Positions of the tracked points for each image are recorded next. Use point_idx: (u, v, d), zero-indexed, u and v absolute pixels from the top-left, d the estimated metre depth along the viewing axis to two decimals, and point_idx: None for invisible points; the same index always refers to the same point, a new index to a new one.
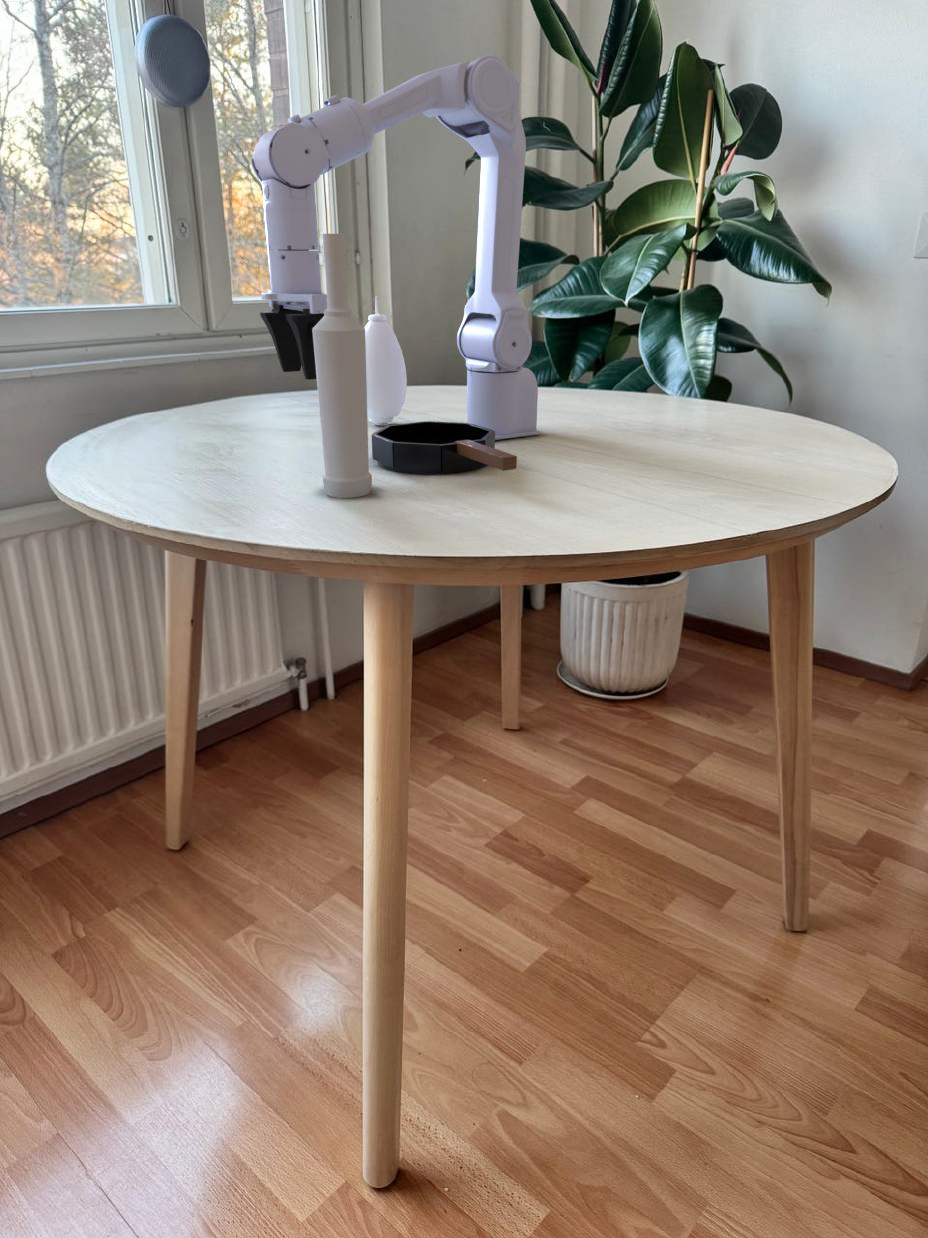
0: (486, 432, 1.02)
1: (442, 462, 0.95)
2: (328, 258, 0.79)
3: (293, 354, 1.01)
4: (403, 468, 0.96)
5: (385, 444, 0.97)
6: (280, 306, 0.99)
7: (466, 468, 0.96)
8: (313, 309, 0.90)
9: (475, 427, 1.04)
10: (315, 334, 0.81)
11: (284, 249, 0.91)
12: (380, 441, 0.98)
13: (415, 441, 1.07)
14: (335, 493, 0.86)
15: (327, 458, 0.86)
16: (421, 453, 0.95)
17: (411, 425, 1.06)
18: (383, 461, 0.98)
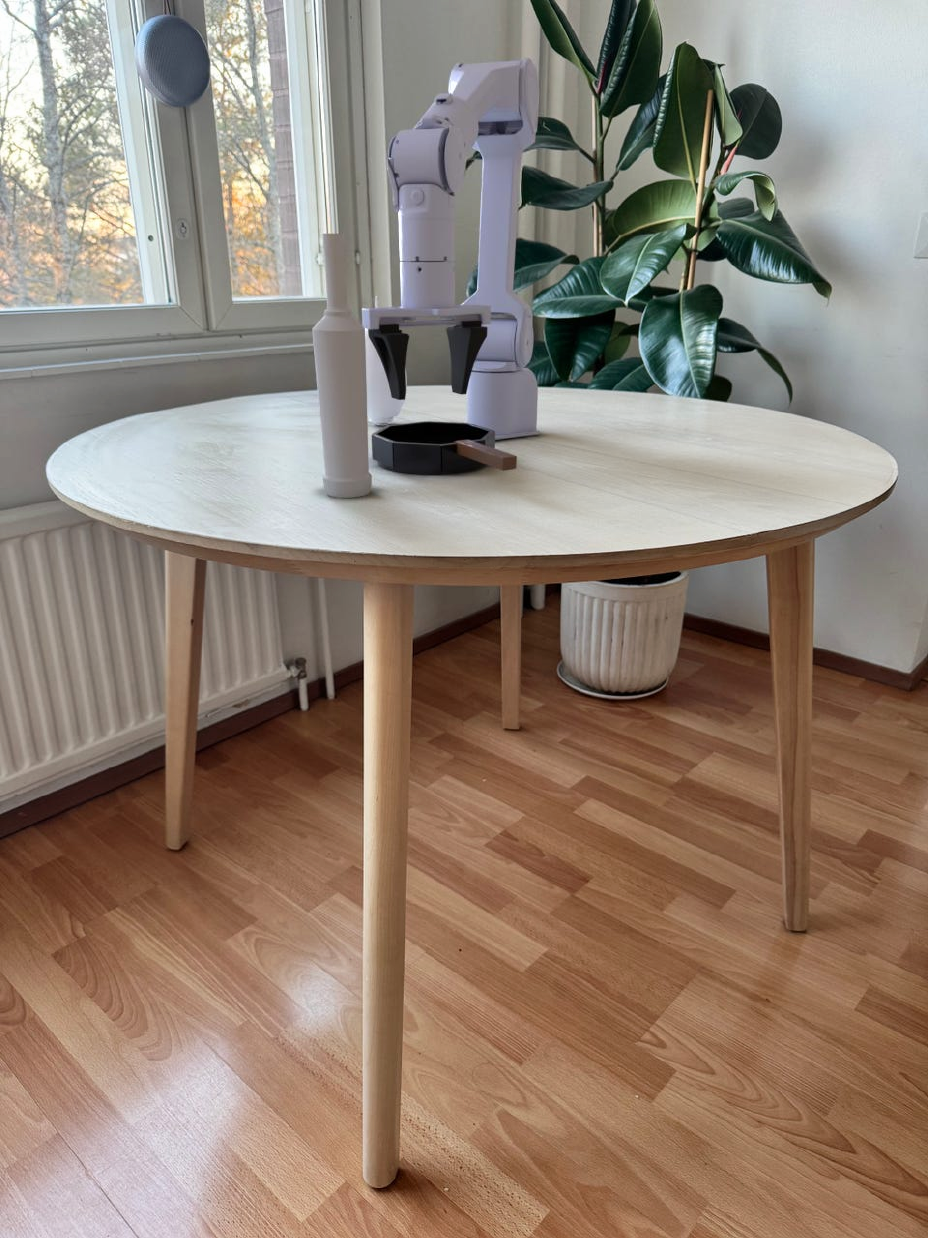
0: (486, 432, 1.02)
1: (442, 462, 0.95)
2: (327, 257, 0.79)
3: None
4: (403, 468, 0.96)
5: (385, 444, 0.97)
6: (398, 325, 0.86)
7: (466, 468, 0.96)
8: (490, 319, 0.91)
9: (475, 427, 1.04)
10: (315, 334, 0.81)
11: (454, 260, 0.86)
12: (380, 441, 0.98)
13: (415, 441, 1.07)
14: (335, 493, 0.86)
15: (327, 458, 0.86)
16: (421, 453, 0.95)
17: (411, 425, 1.06)
18: (383, 461, 0.98)
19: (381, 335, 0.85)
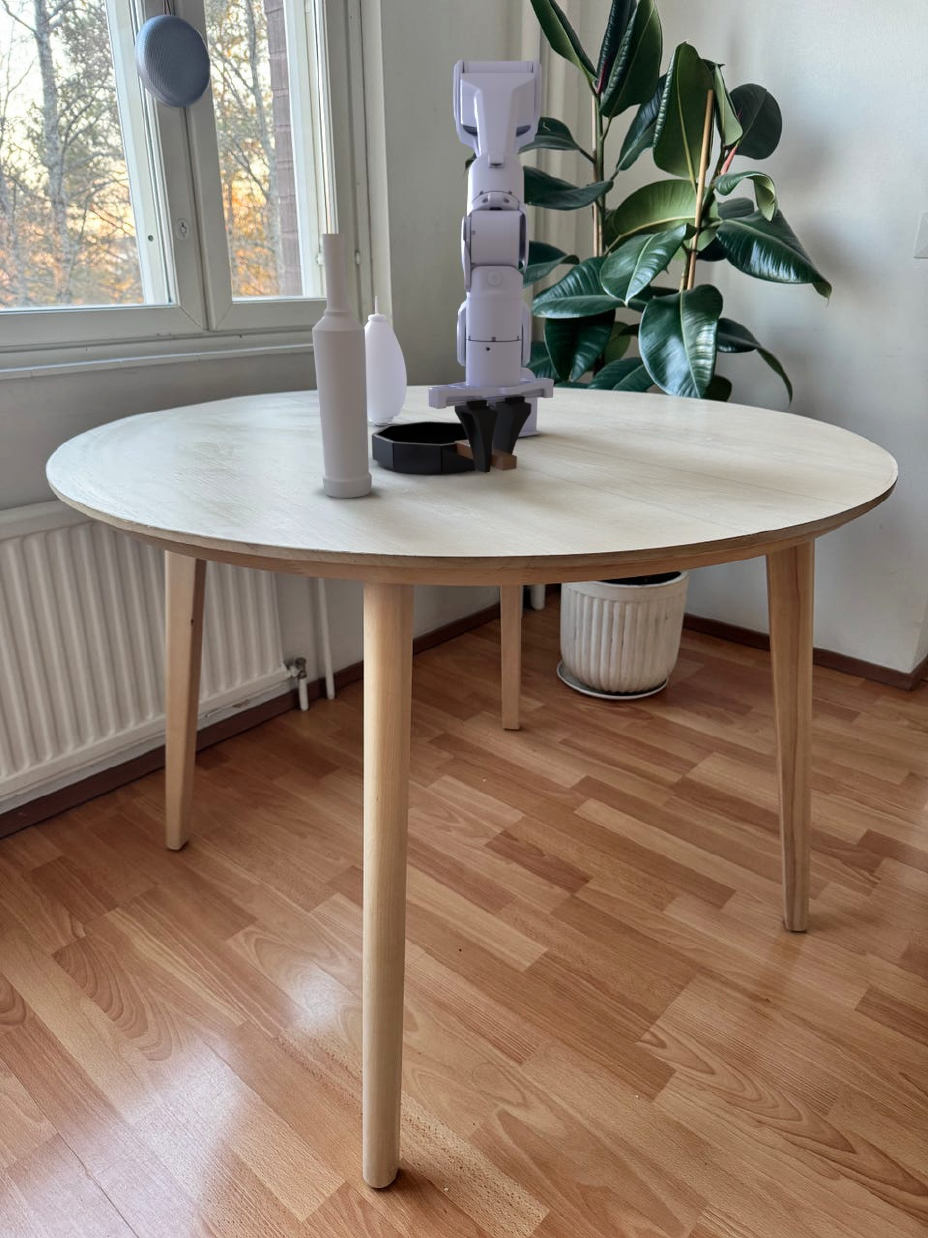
0: None
1: (442, 462, 0.95)
2: (327, 257, 0.79)
3: None
4: (403, 468, 0.96)
5: (385, 444, 0.97)
6: (486, 401, 0.87)
7: (466, 468, 0.96)
8: (552, 393, 0.91)
9: None
10: (315, 334, 0.81)
11: (521, 338, 0.85)
12: (380, 441, 0.98)
13: (415, 441, 1.07)
14: (335, 493, 0.86)
15: (327, 458, 0.86)
16: (421, 453, 0.95)
17: (411, 425, 1.06)
18: (383, 461, 0.98)
19: (470, 412, 0.86)
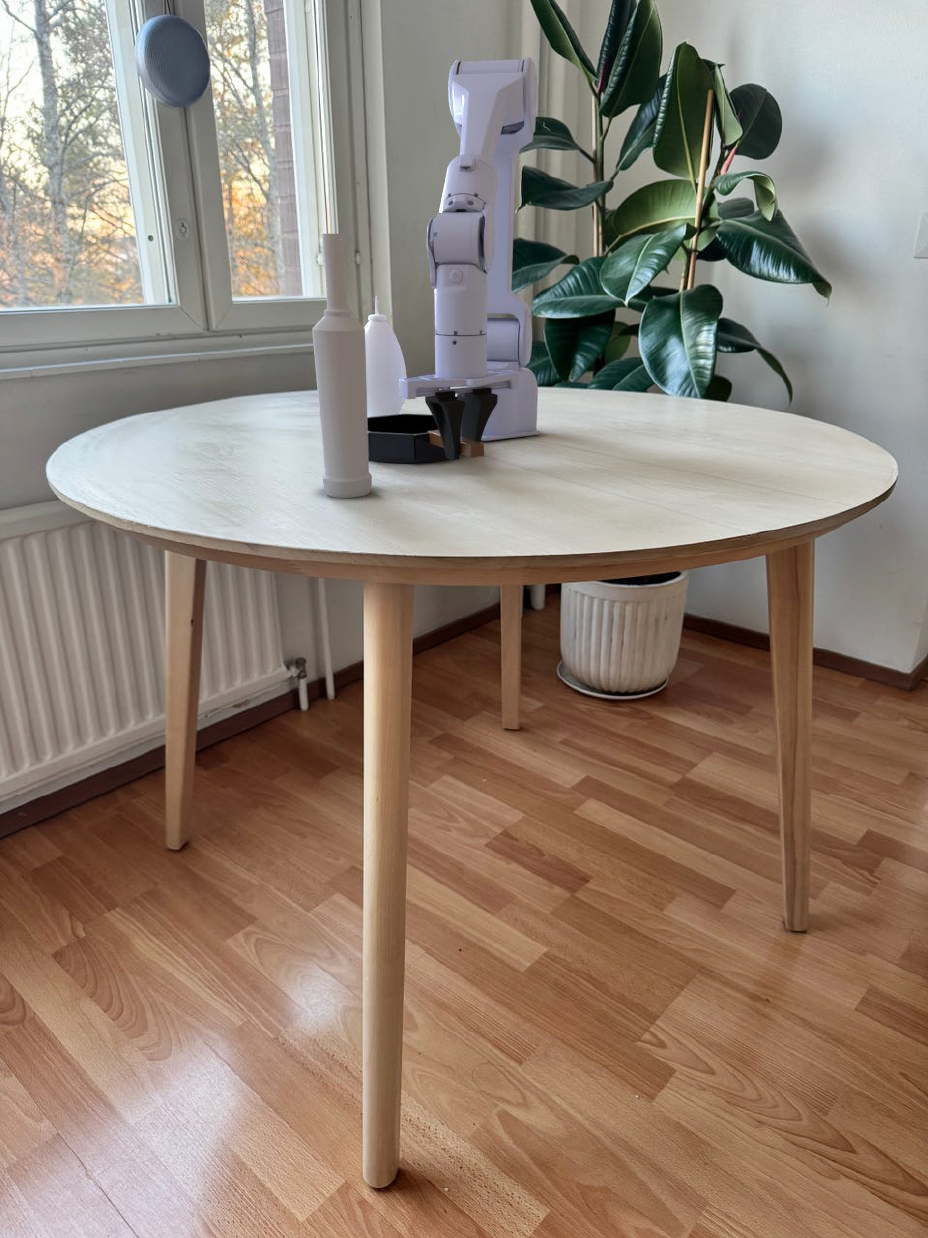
0: None
1: (415, 451, 1.00)
2: (327, 258, 0.79)
3: None
4: (379, 457, 1.01)
5: None
6: (454, 392, 0.92)
7: (439, 457, 1.02)
8: (518, 385, 0.96)
9: None
10: (315, 334, 0.81)
11: (486, 333, 0.90)
12: None
13: (392, 432, 1.12)
14: (335, 493, 0.86)
15: (327, 458, 0.86)
16: (395, 442, 1.00)
17: (388, 417, 1.11)
18: None
19: (439, 402, 0.91)
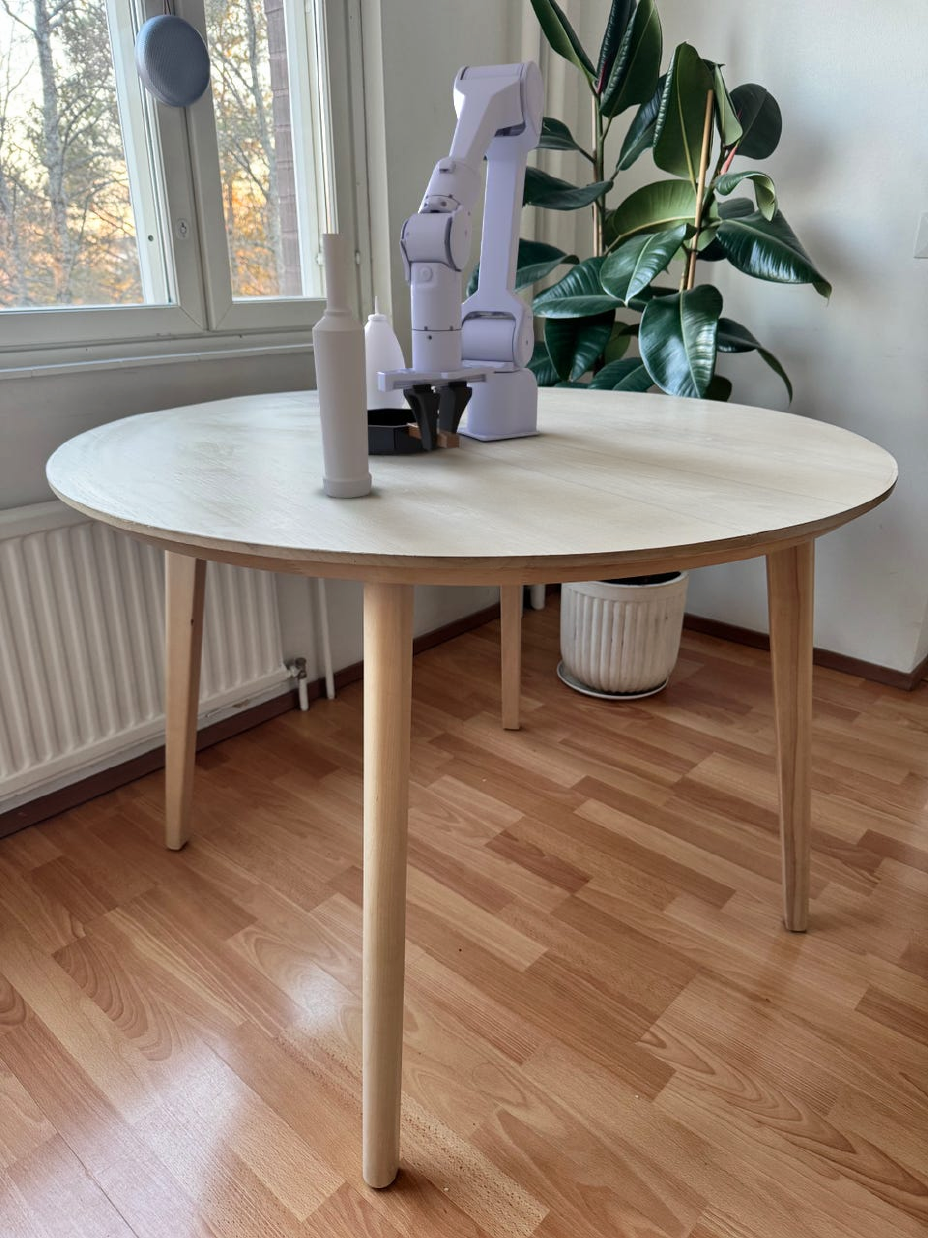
0: None
1: (395, 442, 1.04)
2: (327, 258, 0.79)
3: None
4: None
5: None
6: (430, 385, 0.96)
7: (418, 448, 1.06)
8: (493, 378, 1.00)
9: None
10: (315, 334, 0.81)
11: (461, 328, 0.95)
12: None
13: (375, 426, 1.16)
14: (335, 493, 0.86)
15: (327, 458, 0.86)
16: (376, 434, 1.04)
17: (371, 411, 1.15)
18: None
19: (416, 394, 0.95)
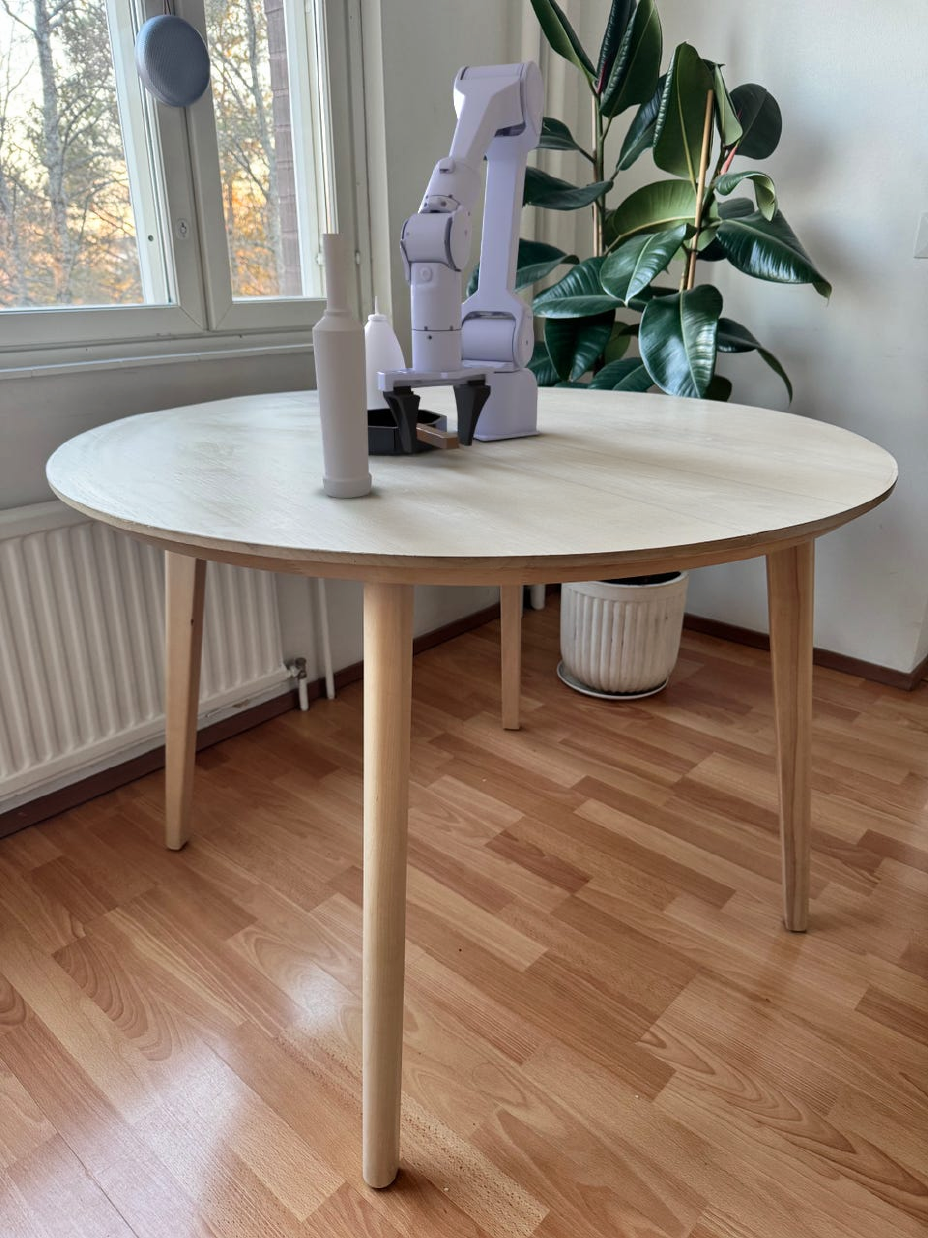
0: (439, 417, 1.12)
1: (395, 443, 1.04)
2: (327, 258, 0.79)
3: None
4: None
5: None
6: (410, 387, 0.95)
7: (418, 449, 1.06)
8: (493, 378, 1.00)
9: (430, 413, 1.13)
10: (315, 334, 0.81)
11: (461, 328, 0.95)
12: None
13: (375, 426, 1.16)
14: (335, 493, 0.86)
15: (327, 458, 0.86)
16: (376, 435, 1.04)
17: (371, 411, 1.15)
18: None
19: (395, 396, 0.94)
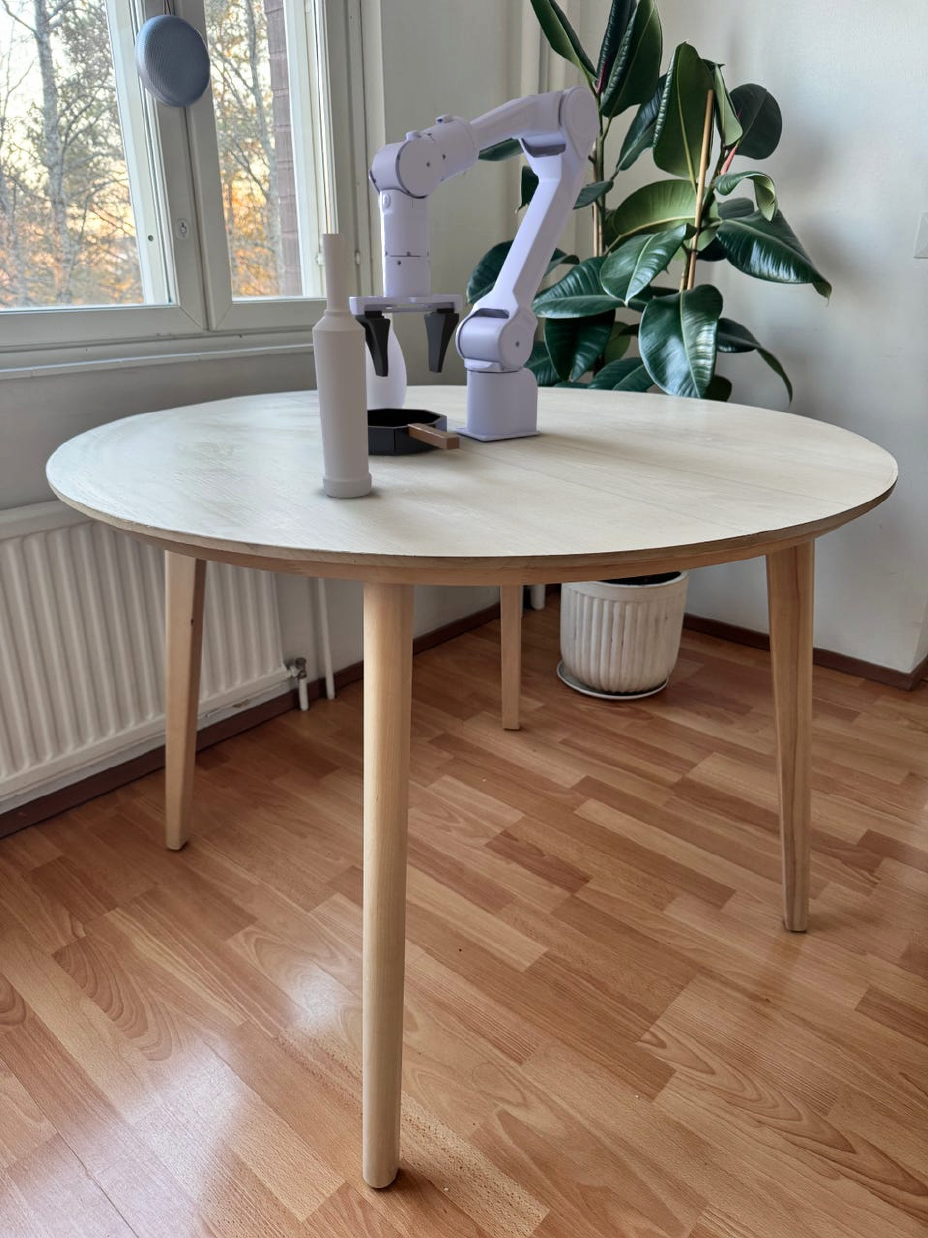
0: (439, 417, 1.12)
1: (395, 443, 1.04)
2: (327, 258, 0.79)
3: None
4: None
5: None
6: (381, 311, 0.99)
7: (418, 449, 1.06)
8: (461, 307, 1.05)
9: (430, 413, 1.13)
10: (315, 334, 0.81)
11: (429, 255, 0.99)
12: None
13: (375, 426, 1.16)
14: (335, 493, 0.86)
15: (327, 458, 0.86)
16: (376, 435, 1.04)
17: (371, 411, 1.15)
18: None
19: (366, 320, 0.98)
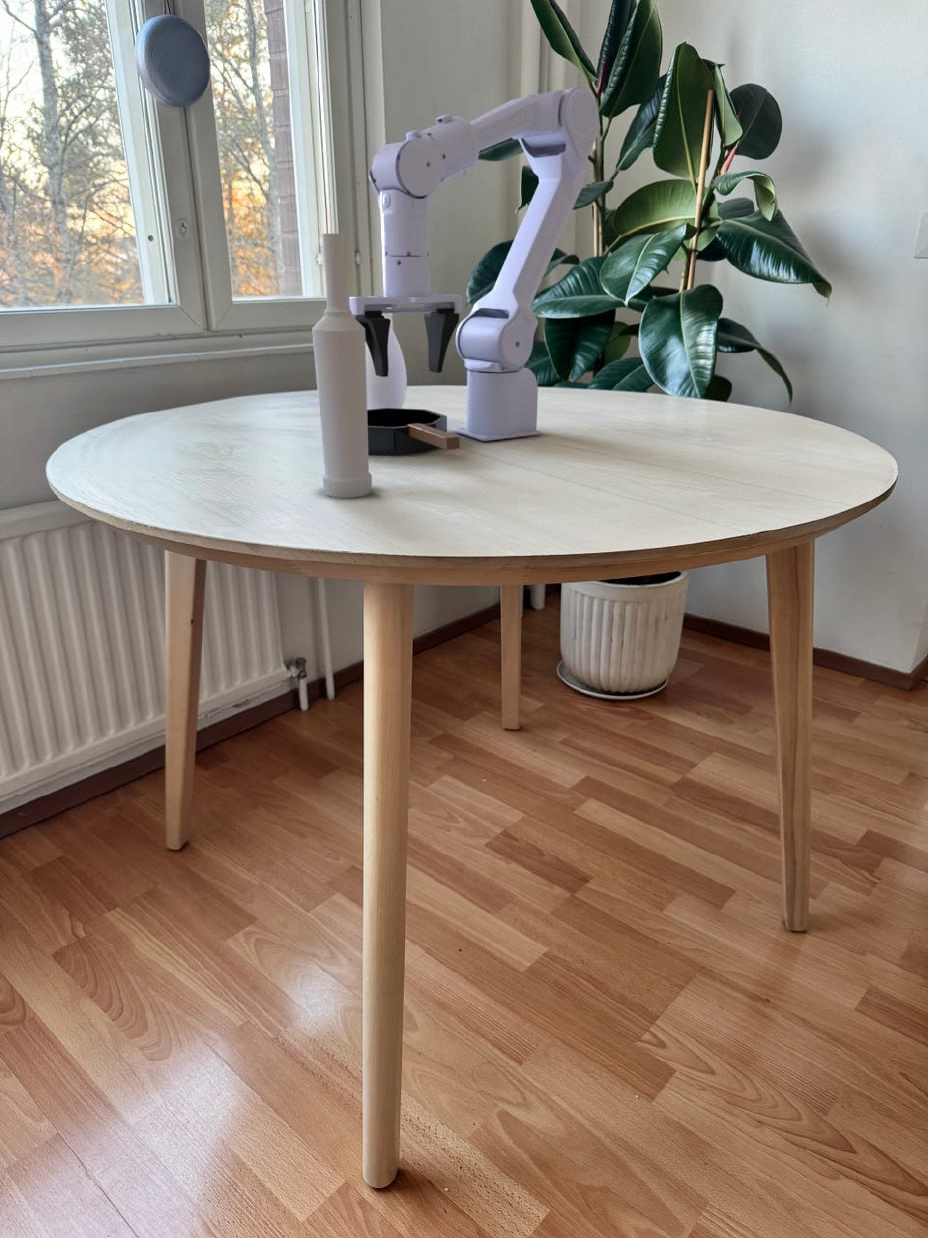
0: (439, 417, 1.12)
1: (395, 443, 1.04)
2: (327, 258, 0.79)
3: None
4: None
5: None
6: (381, 311, 0.99)
7: (418, 449, 1.06)
8: (461, 307, 1.05)
9: (430, 413, 1.13)
10: (315, 334, 0.81)
11: (429, 255, 0.99)
12: None
13: (375, 426, 1.16)
14: (335, 493, 0.86)
15: (327, 458, 0.86)
16: (376, 435, 1.04)
17: (371, 411, 1.15)
18: None
19: (366, 320, 0.98)
